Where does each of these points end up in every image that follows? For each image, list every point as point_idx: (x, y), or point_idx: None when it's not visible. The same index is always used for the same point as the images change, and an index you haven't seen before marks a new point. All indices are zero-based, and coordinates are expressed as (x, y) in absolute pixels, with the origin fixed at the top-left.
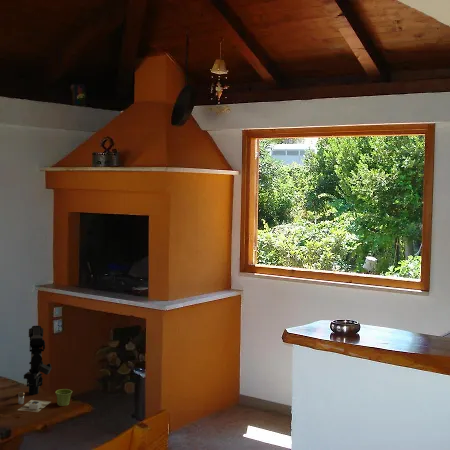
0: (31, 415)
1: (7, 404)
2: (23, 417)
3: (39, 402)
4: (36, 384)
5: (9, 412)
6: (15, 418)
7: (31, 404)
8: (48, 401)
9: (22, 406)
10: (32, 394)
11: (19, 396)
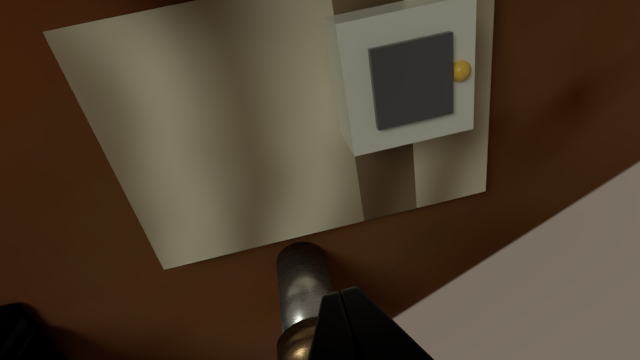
0: (515, 4)
1: None
2: (583, 46)
3: (377, 33)
4: (365, 340)
5: (479, 231)
6: (614, 98)
7: (470, 94)
8: (67, 74)
9: (379, 214)
10: (33, 351)
11: None
